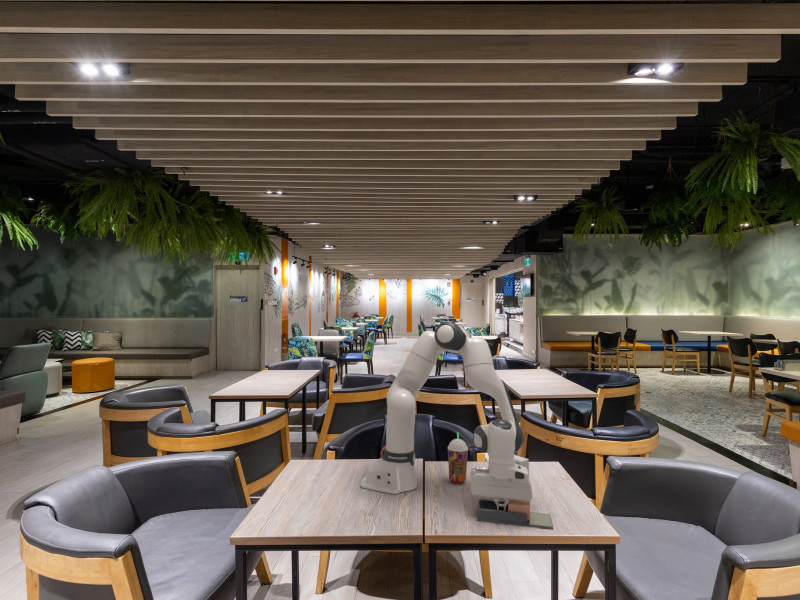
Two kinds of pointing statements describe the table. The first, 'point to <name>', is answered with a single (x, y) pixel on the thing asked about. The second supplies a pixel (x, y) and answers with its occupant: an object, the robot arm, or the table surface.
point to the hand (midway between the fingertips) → (501, 510)
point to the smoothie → (457, 460)
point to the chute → (511, 515)
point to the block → (519, 507)
